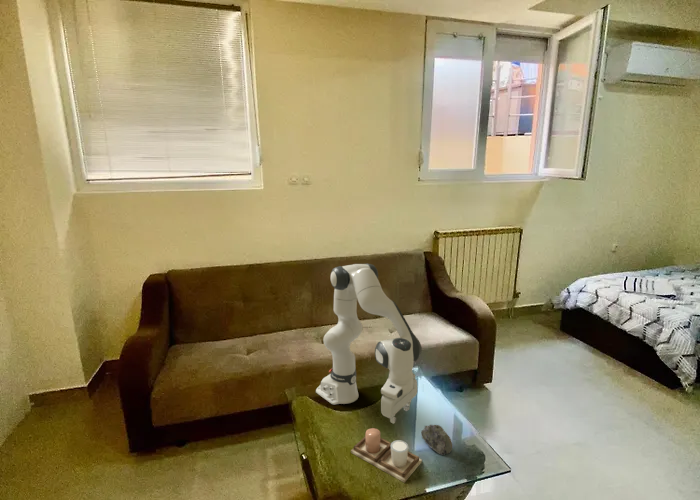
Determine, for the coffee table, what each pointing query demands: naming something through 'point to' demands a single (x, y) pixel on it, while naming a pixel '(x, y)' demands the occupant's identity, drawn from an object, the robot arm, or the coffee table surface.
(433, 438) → the mineral rock
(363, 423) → the coffee table surface
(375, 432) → the tan rounded cylinder
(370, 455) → the divided wooden tray
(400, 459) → the white cylinder
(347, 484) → the coffee table surface
